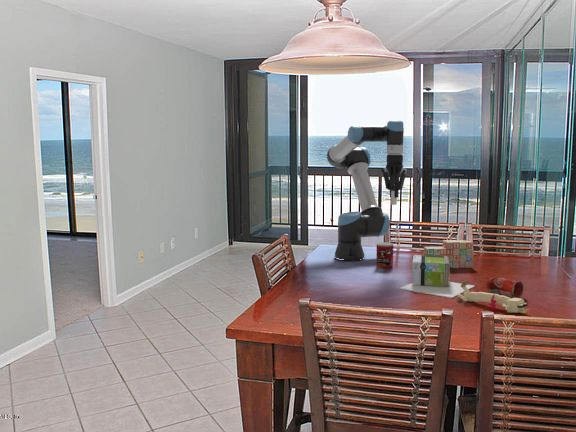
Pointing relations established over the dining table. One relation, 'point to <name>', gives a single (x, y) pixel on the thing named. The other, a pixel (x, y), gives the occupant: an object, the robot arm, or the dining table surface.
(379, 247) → the canned food
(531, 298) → the dining table surface
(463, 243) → the stack of blocks
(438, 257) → the tea box
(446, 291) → the mat
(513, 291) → the beverage can
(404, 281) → the dining table surface
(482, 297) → the cat figure
